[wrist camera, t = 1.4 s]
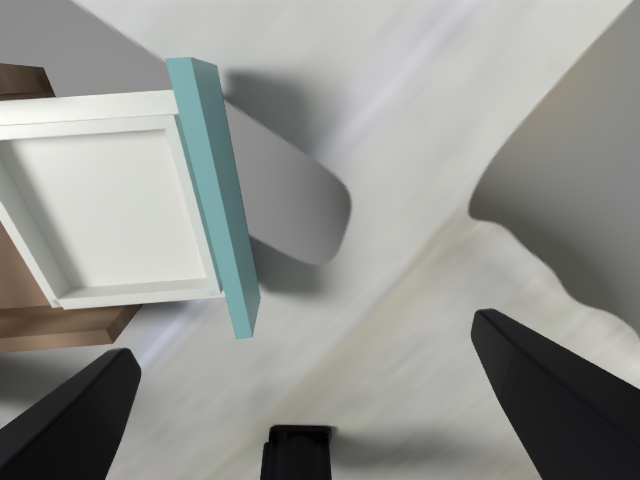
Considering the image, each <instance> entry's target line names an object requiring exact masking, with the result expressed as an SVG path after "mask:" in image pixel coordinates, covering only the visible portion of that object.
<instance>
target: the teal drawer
mask: <svg viewBox="0 0 640 480" xmlns="http://www.w3.org/2000/svg"><path fill="white" fill-rule="evenodd" d="M165 60H166V64H167V68H168V72H169V76H170V80H171V84H172V88H173V90H163V91H147V92H133V93H118V94H102V95H86V96H72V97H56V98H41V99H25V100H10V101H0V221H1V223H2V224H3V226H4V228H5V229H6V231H7V233H8V234H9V236H10V238H11V239H12V241H13V243H14V244H15V246H16V248H17V249H18V251H19V253H20V254H21V256H22V258H23V259H24V261H25V263H26V264H27V266H28V268H29V269H30V271H31V273H32V274H33V276H34V278H35V280H36V281H37V283H38V285H39V286H40V288H41V290H42V291H43V293H44V295H45V296H46V298H47V300H48V301H49V303H50V305H51V306H52V308H57V307H63V308H64V310H67V309H79V308H92V307H105V306H117V305H130V304H142V303H155V302H168V301H180V300H193V299H205V298H218V297H226V300H227V304H228V308H229V312H230V316H231V320H232V324H233V328H234V332H235V336H236V339H242V338H252V337H253V332H254V327H255V322H256V317H257V313H258V308H259V303H260V298H261V297H260V292H259V287H258V281H257V276H256V271H255V265H254V260H253V255H252V249H251V244H250V239H249V233H248V228H247V223H246V218H245V213H244V207H243V201H242V196H241V191H240V186H239V180H238V175H237V170H236V164H235V159H234V153H233V148H232V143H231V137H230V132H229V127H228V122H227V117H226V111H225V105H224V100H223V95H222V89H221V84H220V79H219V73H218V68H217V65H214V64H211V63H208V62H204V61H201V60H198V59H195V58H192V57H184V58H168V59H165Z"/></svg>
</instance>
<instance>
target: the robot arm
mask: <svg viewBox="0 0 640 480" xmlns="http://www.w3.org/2000/svg"><path fill="white" fill-rule="evenodd" d="M471 339H472V342H473V345H474V347H475V349H476V352H477V354H478V356H479V359H480V361H481V363H482V365H483V368H484V370H485V372H486V374H487V377H488V379H489V381H490V384H491V386H492V388H493V390H494V393H495V395H496V397H497V399H498V401H499V403H500V405H501V407H502V408H503V410H504V412H505V414H506V416H507V417H508V419H509V421H510V423H511V425H512V426H513V428H514V430H515V432H516V433H517V435H518V437H519V439H520V441H521V442H522V444H523V446H524V448H525V449H526V451H527V453H528V455H529V457H530V458H531V460H532V462H533V464H534V465H535V467H536V469H537V471H538V473H539V474H540V476H541V478H542V480H640V389H638V388H636V387H634V386H633V385H631V384H629V383H627V382H625V381H624V380H622V379H620V378H618V377H616V376H615V375H613V374H611V373H609V372H607V371H606V370H604V369H602V368H600V367H598V366H597V365H595V364H593V363H591V362H589V361H588V360H586V359H584V358H582V357H580V356H579V355H577V354H575V353H573V352H571V351H570V350H568V349H566V348H564V347H562V346H560V345H559V344H557V343H555V342H553V341H551V340H550V339H548V338H546V337H544V336H542V335H541V334H539V333H537V332H535V331H533V330H532V329H530V328H528V327H526V326H524V325H523V324H521V323H519V322H517V321H515V320H514V319H512V318H510V317H508V316H506V315H505V314H503V313H501V312H499V311H497V310H495V309H491V308H490V309H480V310H477V311H476V312H475V314H474V319H473V324H472V329H471ZM140 379H141V368H140V366H139V364H138V362H137V360H136V359H135V357H134V355H133V353H132V352H131V350H130V349H128V348H117V349H111V350H109V351H107V352H106V353H104V354H103V355H102V356H100V357H99V358H97V359H96V360H95V361H93V362H92V363H91V364H89V365H88V366H86V367H85V368H84V369H82V370H81V371H80V372H78V373H77V374H76V375H74V376H73V377H71V378H70V379H69V380H67V381H66V382H65V383H63V384H62V385H60V386H59V387H58V388H56V389H55V390H54V391H52V392H51V393H49V394H48V395H47V396H45V397H44V398H43V399H41V400H40V401H38V402H37V403H36V404H34V405H33V406H32V407H30V408H29V409H28V410H26V411H25V412H23V413H22V414H21V415H19V416H18V417H17V418H15V419H14V420H12V421H11V422H10V423H8V424H7V425H6V426H4V427H3V428H1V429H0V480H105V479H106V476H107V474H108V471H109V469H110V467H111V464H112V462H113V459H114V457H115V455H116V452H117V450H118V447H119V444H120V442H121V439H122V436H123V433H124V430H125V427H126V424H127V421H128V418H129V414H130V411H131V408H132V405H133V402H134V398H135V395H136V392H137V389H138V386H139V383H140ZM331 436H332V431H331V428H328V427H276V426H275V427H271V428H270V432H269V442H266V443H265V444H264V449H263V457H262V466H261V475H260V480H332V476H331V463H330V449H329V445H330V440H331Z"/></svg>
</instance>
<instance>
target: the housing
mask: <svg viewBox="0 0 640 480" xmlns="http://www.w3.org/2000/svg"><path fill="white" fill-rule="evenodd" d="M41 98H56V96H55V94H54V92H53V89H52V87H51V85H50V82H49V80H48V77H47V75H46V73H45V70H44V68H43V67H32V66H22V65H12V64H1V63H0V101H10V100H25V99H41ZM142 305H143V304H130V305H117V306H105V307H92V308H79V309H67V310H64V308H63V307H57V308H52V306H51V305H50V303H49V301H48V300H47V298H46V296H45V295H44V293H43V291H42V290H41V288H40V286H39V285H38V283H37V281H36V280H35V278H34V276H33V274H32V273H31V271H30V269H29V268H28V266H27V264H26V263H25V261H24V259H23V258H22V256H21V254H20V253H19V251H18V249H17V248H16V246H15V244H14V243H13V241H12V239H11V238H10V236H9V234H8V233H7V231H6V229H5V228H4V226H3V224H2V223H1V221H0V353H6V352H18V351H30V350H42V349H54V348H67V347H79V346H91V345H103V344H113V343H114V342H115V340H116V339H117V338H118V336H119V335H120V334H121V332H122V331H123V330H124V328H125V327H126V326H127V325H128V323H129V322H130V321H131V319H132V318H133V317H134V315H135V314H136V313H137V311H138V310H139V309H140V307H141V306H142Z"/></svg>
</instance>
